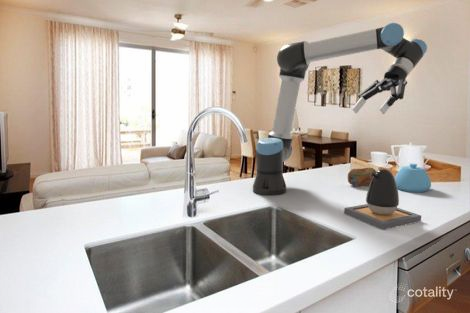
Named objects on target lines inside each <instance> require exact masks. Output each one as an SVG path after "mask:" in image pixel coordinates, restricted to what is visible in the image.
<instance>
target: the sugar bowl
mask: <svg viewBox="0 0 470 313" xmlns="http://www.w3.org/2000/svg"><path fill="white" fill-rule="evenodd" d="M394 178H395V181H396V185H397V189H398V191H399V190H400V191H404V192H408V193H426V192H428V191H429V190H430V189H431V188H432V181H431V178H430V176H429V174H428V172H427V170H426V169H425V168H424V167H421V166H420V167H419V166H418V164H417V163H409V165H407V166H402V167H401V168H400V169H399V170H398V172H397V173H396V175H395V176H394Z"/></svg>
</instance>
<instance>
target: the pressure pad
mask: <svg viewBox="0 0 470 313" xmlns="http://www.w3.org/2000/svg"><path fill="white" fill-rule="evenodd" d="M356 211H359V212H361V213H364V214H367V215H369V216H372V217H374V218H377V219H379V220H382V221H385V220H389V219H394V218H399V217H404V216H409V215H408V214H405V213H402V212H399V211H396V210H395V211H394V212H393V213H392V214H389V215H379V214H376V213H374V212H372V211H371V210H370V209H369V207H367V208H361V209H356Z"/></svg>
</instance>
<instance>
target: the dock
mask: <svg viewBox="0 0 470 313" xmlns="http://www.w3.org/2000/svg"><path fill="white" fill-rule="evenodd" d="M367 207H368V205H367V203H365V204H359V205H355V206H354V205H353V206H347V207H344V208H343V214H345V215H347V216H349V217H351V218H354V219H357V220H359V221H361V222H364V223H366V224H368V223H369V224H368V225H371V226H373V225H374V226H373V227H375V226H376V227H375V228H378V229H380V228H381V229H380V230H382V229H384V230H388V229H393V228H396V226H398V227H401V225H402V226H405V224H407V225H410V223H411V224H416V223H420V222H422V215H421V214H418V213H415V212H412V211H409V210H406V209H402V208H400V207H397V209H396V211H399V212H402V213H405V214H408V215H409V216H404V217H399V218H394V219H389V220H385V221H382V220H379V219H377V218H374V217H372V216H369V215H367V214H364V213H361V212H359V211H356V209H361V208H367ZM419 221H420V222H419ZM415 222H416V223H415ZM392 227H393V228H392ZM387 228H388V229H387Z"/></svg>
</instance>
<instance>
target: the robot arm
mask: <svg viewBox="0 0 470 313" xmlns="http://www.w3.org/2000/svg"><path fill="white" fill-rule="evenodd" d="M404 36H405V31H404V28H403V26H402V24H399V23H397V22H391V23H390V22H389V23H388V24H386V25H384V26H382V27H377V28H374V29H368V30H363V31H359V32H355V33H349V34H346V35H339V36H334V37H330V38H326V39H325V38H324V39H320V40H317V41H312V42H308V41H307V40H304V41H298V42H293V43H292V42H291V43H287V44H286V45H284V46H282V47H281V48H280V49H279V51H278V52H277V55H276V61H277V65H278V67H279V74H278V77H279V78H280V80H281V82H280V85H279V86H280V87H279V93H278V97H277V104H276V109H275V114H274V120H273V125H272V126H273V127H272V129H271V131H270V132H269V133H268V137H266V138H261V139H259V140H258V141H257V142H256V147H255V150H256V175H255V178H254V181H253V183H252V192H253V193H256V194H257V195H266V196H276V195H277V196H278V195H283V194H285V193H286V192H287V184H286V181H285V178H284V175H283V172H284V171H283V169H284V168H283V167H284V162H286V161H288V159H290V157H291V155H292V152H293V147H292V142H293V139H294V138H293V136H292V135H291V132H292V131H291V130H292V126H293V120H294V116H295V111H296V105H297V101H298V100H297V99H298V94H299V91H300V84H301V83H302V82H303V81H305V76H306V72H307V71H308V68H309V66H310V64H311V63H313V62H318V61H323V60H328V59H333V58H340V57H343V56H350V55H354V54H359V53H364V52H365V53H366V52H369V51H374V50H380V49H381V50H383V51H384V52H385V53H388V54H390V55H391V56H393V57H394V58H396V59H395V60H394V61H393V62H392V64H391V65H390V66H389V67H388V69H386V71H385V72H384V74H383V79H381V81H380V80H378V79H376V80H375V81H374V82H373V83H372V84H370V85H369V86H368V87H367V88H366V87H365V89H363V90H362V92H359V93H358V94H357V97H358V100H357V102H355V104H354V106H353V107H352V108H351V109H352V111H353V112H354V113H355V114H358V113H359V111H360V110H361V109H362V108H363V107H364V105H365V104H366V102H367V101H368V100H369V99H371V98H372V97H374V96H376V95H377V94H379V93H380V94H381V93H383V92H386V91H390V95H389V96H388V97H387V98H386V99H385V101H384V102H383V103H382V105H381V106H380V107H379V111H380V112H381V114H382V115H385V114H386V113H387V112H388V110H389V109H390V108H391V107H392V106H393V105H394V104H395V102H396V101H398V100H403V99H404V96H405V90H406V86H407V84H408V81H407V77H408V76H409V75H410V73H411V72H412V71H413V70H414V68H415V67H416V66H417V65H418V63H419V62H420V61H421V60H422V58H423V57H424V56H425V54H426V53H427V50H428V44H427V43H426V42H425V40H422V39H418V38H413V39H411V40H409V39H407V38H404Z"/></svg>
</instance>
